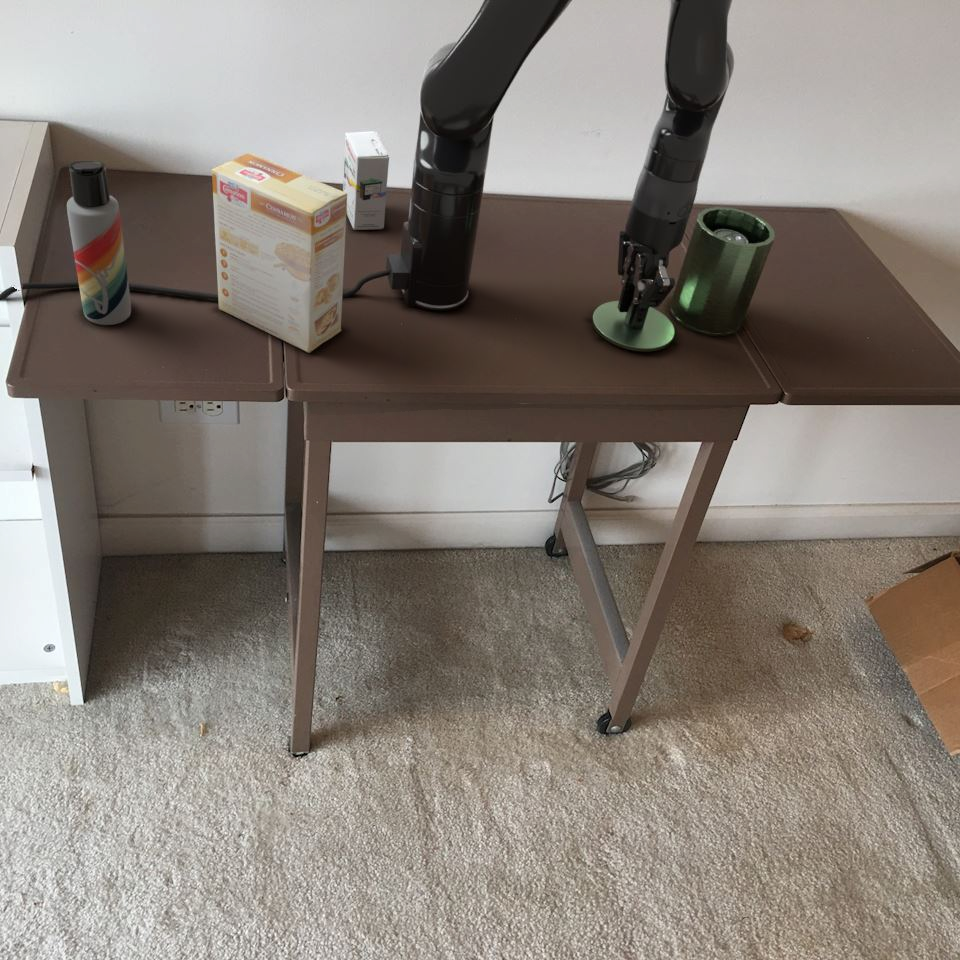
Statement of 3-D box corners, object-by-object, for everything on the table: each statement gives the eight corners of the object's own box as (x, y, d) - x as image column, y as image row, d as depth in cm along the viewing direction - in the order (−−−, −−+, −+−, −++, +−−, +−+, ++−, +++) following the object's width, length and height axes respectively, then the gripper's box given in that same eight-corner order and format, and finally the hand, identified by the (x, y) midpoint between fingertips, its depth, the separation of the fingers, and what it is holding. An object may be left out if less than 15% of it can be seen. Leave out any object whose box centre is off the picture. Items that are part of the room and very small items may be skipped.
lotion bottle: (83, 327, 120) (58, 174, 107) (84, 301, 124) (60, 151, 111) (132, 325, 122) (113, 175, 108) (131, 300, 126) (113, 152, 112)
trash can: (701, 342, 137) (733, 251, 127) (655, 302, 143) (682, 212, 134) (755, 328, 142) (790, 239, 132) (708, 290, 148) (738, 202, 138)
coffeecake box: (342, 330, 127) (350, 192, 114) (308, 355, 122) (312, 213, 109) (253, 287, 132) (249, 149, 118) (216, 309, 127) (209, 168, 114)
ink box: (340, 203, 152) (344, 129, 144) (371, 202, 154) (376, 130, 146) (352, 230, 146) (357, 156, 138) (384, 229, 148) (390, 155, 140)
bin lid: (624, 362, 131) (636, 321, 126) (575, 316, 138) (584, 275, 133) (689, 345, 136) (702, 305, 132) (638, 301, 143) (649, 261, 138)
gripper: (615, 177, 127) (586, 290, 139) (657, 231, 118) (623, 348, 129) (666, 177, 129) (634, 289, 141) (712, 230, 120) (674, 346, 131)
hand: (629, 317), depth 135 cm, fingers closed on bin lid, 3 cm apart
